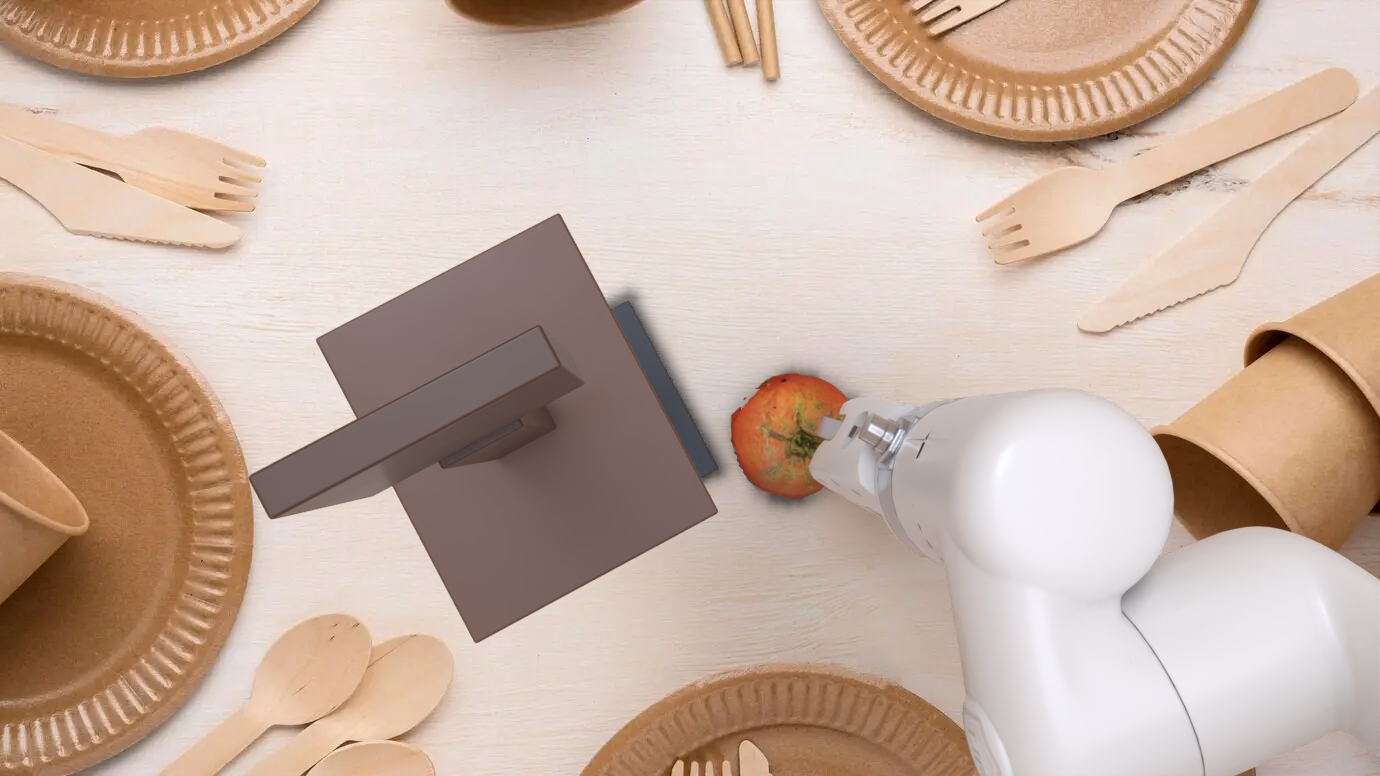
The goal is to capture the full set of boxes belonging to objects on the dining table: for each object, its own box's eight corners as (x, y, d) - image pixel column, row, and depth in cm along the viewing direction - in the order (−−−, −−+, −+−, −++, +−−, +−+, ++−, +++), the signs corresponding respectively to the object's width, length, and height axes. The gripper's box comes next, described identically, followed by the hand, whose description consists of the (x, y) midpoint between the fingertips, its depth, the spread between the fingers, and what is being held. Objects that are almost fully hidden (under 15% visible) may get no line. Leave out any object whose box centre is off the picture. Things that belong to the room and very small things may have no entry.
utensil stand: (717, 468, 67) (915, 575, 17) (549, 558, 66) (237, 947, 16) (628, 301, 67) (564, -79, 17) (460, 390, 66) (-117, 262, 16)
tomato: (720, 506, 65) (750, 429, 60) (713, 422, 70) (741, 344, 65) (842, 519, 67) (882, 445, 61) (828, 436, 71) (864, 361, 66)
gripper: (776, 475, 46) (740, 462, 64) (1074, 640, 46) (953, 581, 65) (858, 325, 46) (799, 355, 65) (1153, 490, 47) (1011, 473, 65)
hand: (876, 468), depth 65 cm, fingers closed
